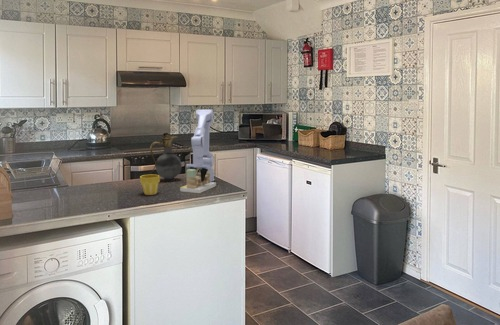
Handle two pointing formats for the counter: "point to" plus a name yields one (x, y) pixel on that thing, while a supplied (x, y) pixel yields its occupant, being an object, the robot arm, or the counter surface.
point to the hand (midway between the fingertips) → (198, 180)
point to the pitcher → (167, 159)
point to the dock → (199, 189)
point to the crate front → (191, 173)
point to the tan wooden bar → (197, 181)
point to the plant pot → (150, 183)
